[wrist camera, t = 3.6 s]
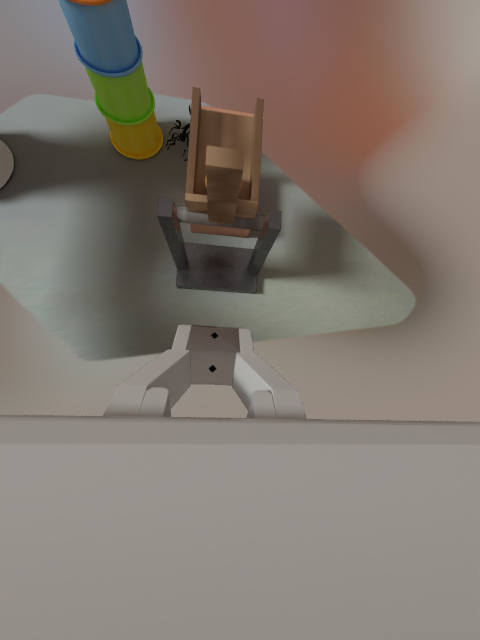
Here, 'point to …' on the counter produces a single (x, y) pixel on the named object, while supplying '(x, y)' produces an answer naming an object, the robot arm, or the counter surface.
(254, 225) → the lever
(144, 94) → the stacking cups
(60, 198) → the counter surface
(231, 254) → the lever stand
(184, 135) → the creature
